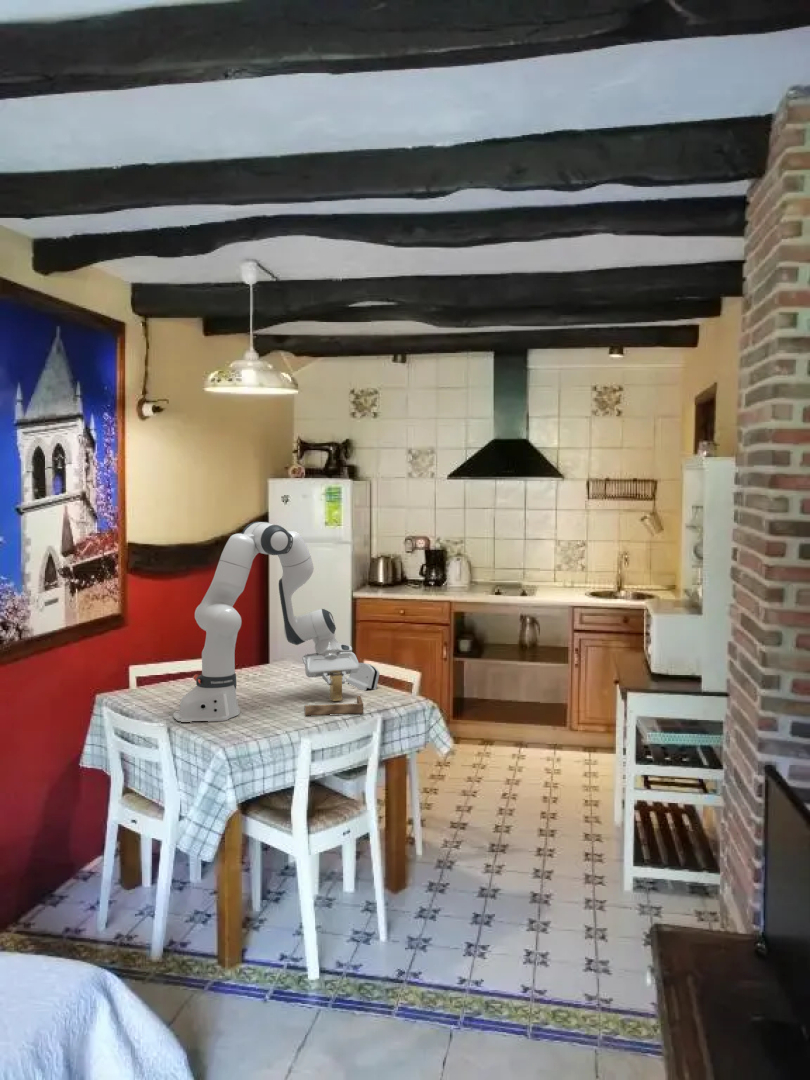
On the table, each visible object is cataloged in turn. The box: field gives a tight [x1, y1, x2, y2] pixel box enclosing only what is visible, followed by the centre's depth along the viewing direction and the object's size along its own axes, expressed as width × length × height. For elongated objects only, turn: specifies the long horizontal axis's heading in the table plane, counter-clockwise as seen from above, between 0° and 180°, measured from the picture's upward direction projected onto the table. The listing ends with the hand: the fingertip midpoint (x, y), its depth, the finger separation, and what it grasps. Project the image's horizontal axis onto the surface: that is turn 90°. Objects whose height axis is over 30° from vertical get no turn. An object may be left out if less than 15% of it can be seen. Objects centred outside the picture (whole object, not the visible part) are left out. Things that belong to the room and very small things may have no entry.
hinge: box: [345, 662, 380, 692], centre depth 343 cm, size 17×5×10 cm, turn 32°
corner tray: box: [304, 695, 364, 717], centre depth 306 cm, size 20×12×4 cm, turn 98°
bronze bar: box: [329, 671, 343, 702], centre depth 319 cm, size 4×4×10 cm
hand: (336, 683), depth 318 cm, fingers closed on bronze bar, 3 cm apart
